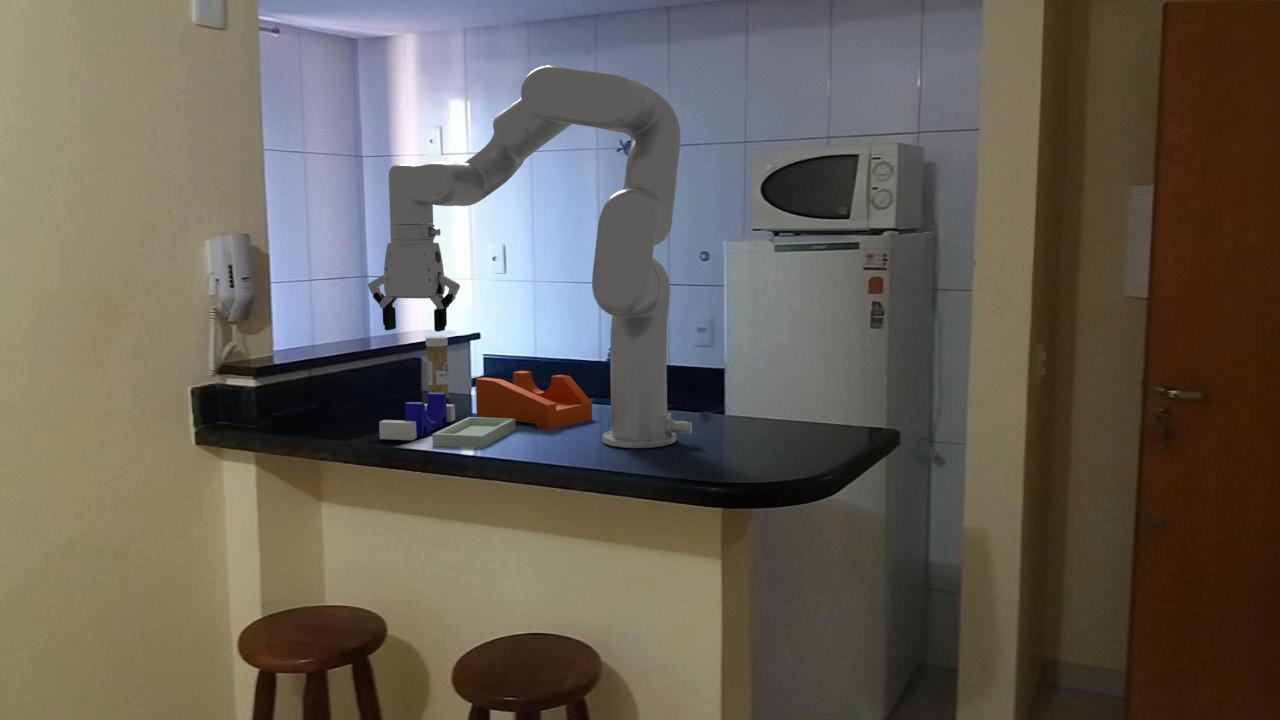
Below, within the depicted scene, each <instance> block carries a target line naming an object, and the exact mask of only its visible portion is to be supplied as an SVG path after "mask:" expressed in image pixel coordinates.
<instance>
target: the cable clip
mask: <svg viewBox="0 0 1280 720" xmlns="http://www.w3.org/2000/svg"><path fill="white" fill-rule="evenodd" d="M425 404H427V408H425ZM446 404H447V399H446V393H429V394H428V393H427V402H426V403H425V402H424V401H423V402H421V401H420V402H419V401H417V402H416V401H408V402H405V403H404V409H405V421H416V434H417V437H424V436H426V435H427V434H430V433H431V432H434V431H436V430H437V429H439V428H442V427H443V426H445V425H447V424H448V422H447V407H446Z"/></svg>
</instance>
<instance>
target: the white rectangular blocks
mask: <svg viewBox="0 0 1280 720" xmlns="http://www.w3.org/2000/svg"><path fill="white" fill-rule="evenodd" d="M424 404H425V408H427V403H424ZM446 407H447V423H452V422H454V421H456V404H448V403H446ZM378 423H379V428H378V429H379V440H392V441H397V440H399V441H414V440H415V439H417V437H418V436H417V434H416V421H406V420H399V419H398V420H396V419H393V420H392V419H383V420H381V421H379V422H378Z"/></svg>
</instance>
